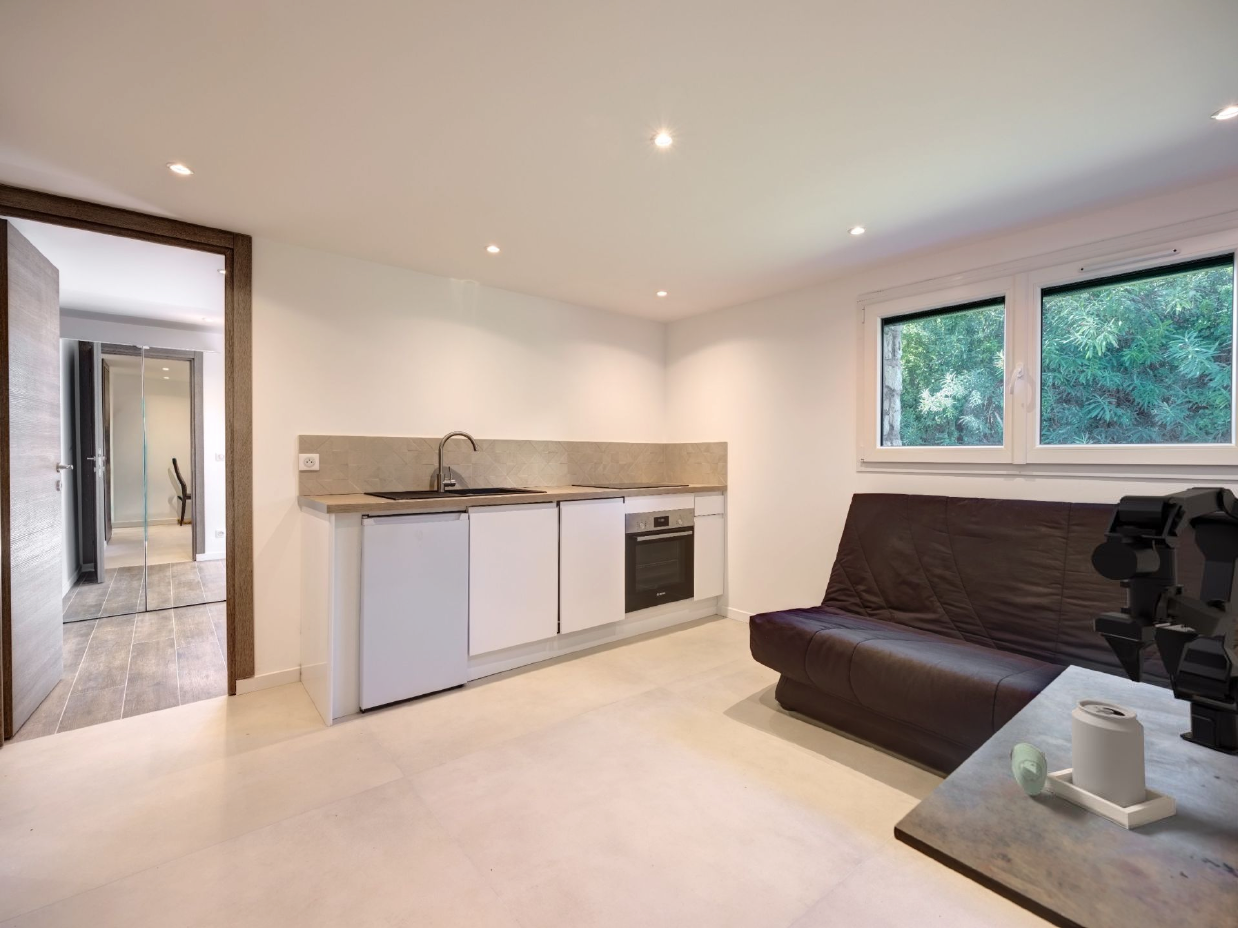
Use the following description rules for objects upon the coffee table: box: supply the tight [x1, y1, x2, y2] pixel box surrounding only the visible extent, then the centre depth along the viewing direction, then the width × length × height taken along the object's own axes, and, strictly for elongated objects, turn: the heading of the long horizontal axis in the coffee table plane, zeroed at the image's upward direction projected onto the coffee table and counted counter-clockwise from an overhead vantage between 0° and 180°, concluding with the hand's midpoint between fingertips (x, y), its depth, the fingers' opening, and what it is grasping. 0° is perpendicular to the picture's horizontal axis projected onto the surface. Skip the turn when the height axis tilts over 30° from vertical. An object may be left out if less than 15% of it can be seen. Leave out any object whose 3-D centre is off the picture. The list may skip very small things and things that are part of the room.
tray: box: [1044, 767, 1176, 830], centre depth 76 cm, size 10×10×2 cm
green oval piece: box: [1009, 742, 1048, 797], centre depth 77 cm, size 8×4×7 cm, turn 136°
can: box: [1070, 699, 1146, 808], centre depth 76 cm, size 8×8×12 cm
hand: (1154, 678), depth 86 cm, fingers open, 9 cm apart
